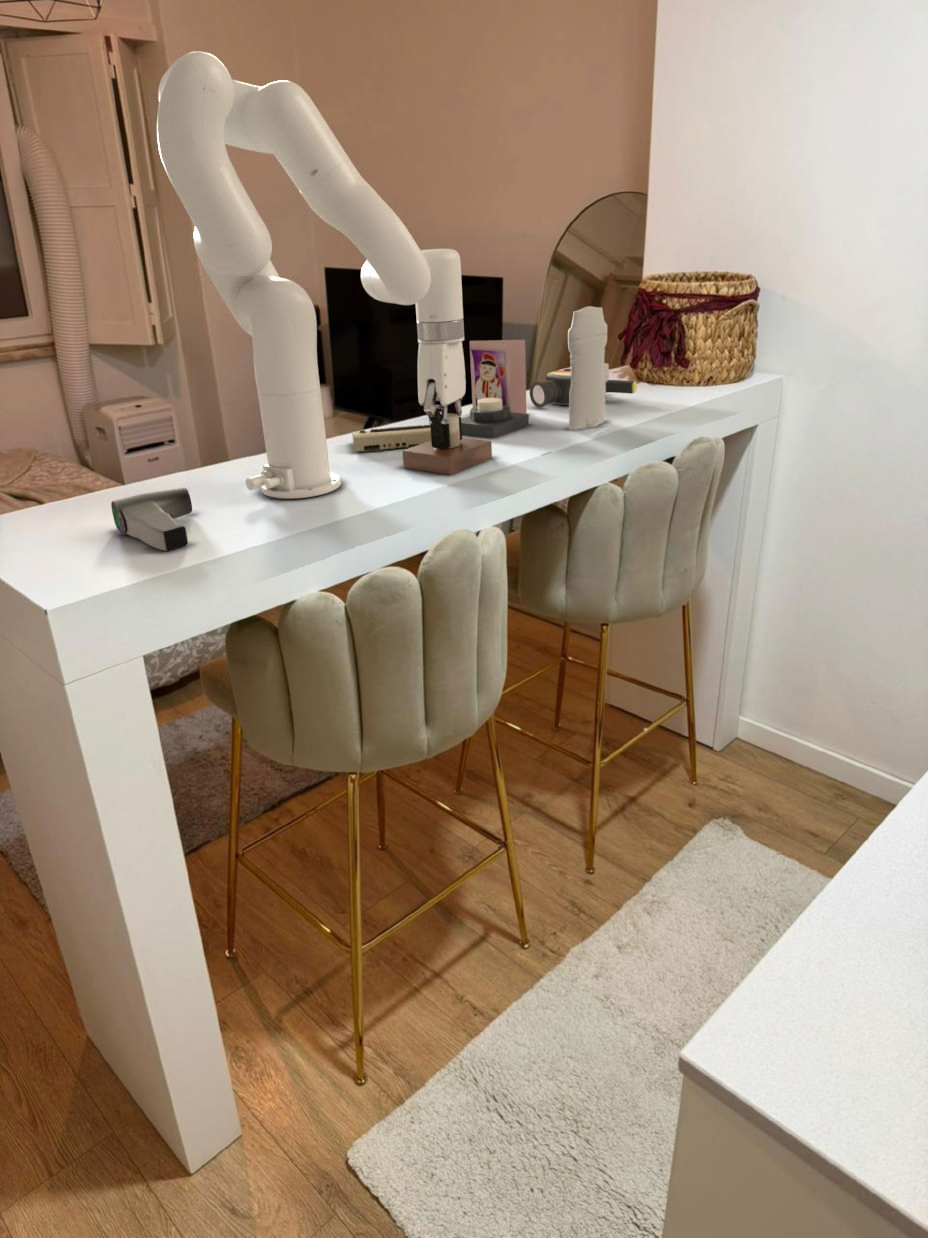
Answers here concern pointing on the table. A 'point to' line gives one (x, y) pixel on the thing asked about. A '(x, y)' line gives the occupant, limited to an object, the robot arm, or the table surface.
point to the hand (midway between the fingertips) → (447, 442)
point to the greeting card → (499, 372)
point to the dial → (453, 429)
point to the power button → (489, 404)
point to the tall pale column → (587, 368)
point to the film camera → (560, 384)
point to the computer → (391, 437)
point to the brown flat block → (447, 456)
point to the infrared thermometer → (154, 517)
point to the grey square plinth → (493, 422)
